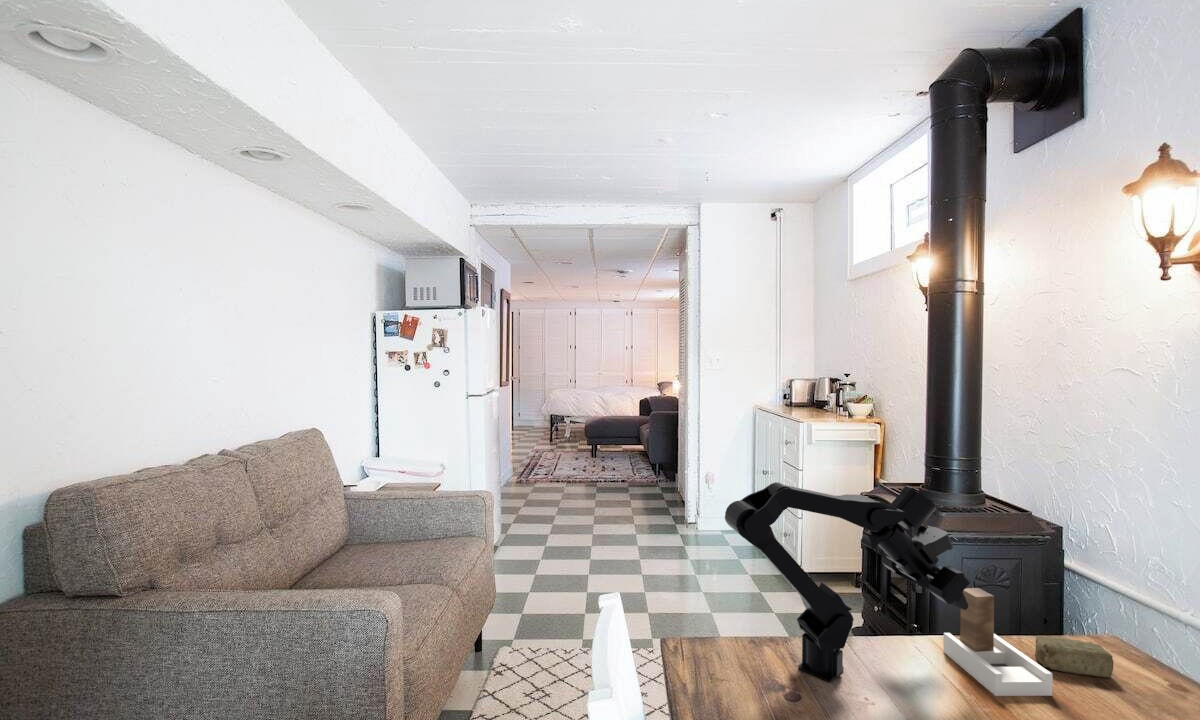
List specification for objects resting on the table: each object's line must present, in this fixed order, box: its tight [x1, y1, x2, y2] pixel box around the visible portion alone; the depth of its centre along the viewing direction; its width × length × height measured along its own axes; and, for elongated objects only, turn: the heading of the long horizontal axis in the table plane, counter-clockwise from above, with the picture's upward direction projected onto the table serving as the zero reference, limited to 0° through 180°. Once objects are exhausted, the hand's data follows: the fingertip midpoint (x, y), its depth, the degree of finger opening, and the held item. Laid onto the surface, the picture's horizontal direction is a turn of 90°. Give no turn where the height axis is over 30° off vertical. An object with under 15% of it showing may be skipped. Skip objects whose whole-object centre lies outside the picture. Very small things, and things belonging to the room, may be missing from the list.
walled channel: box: [942, 632, 1053, 697], centre depth 109 cm, size 10×15×4 cm
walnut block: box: [959, 587, 995, 652], centre depth 114 cm, size 4×4×11 cm
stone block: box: [1034, 634, 1114, 678], centre depth 111 cm, size 6×12×5 cm, turn 73°
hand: (948, 597), depth 113 cm, fingers open, 9 cm apart
